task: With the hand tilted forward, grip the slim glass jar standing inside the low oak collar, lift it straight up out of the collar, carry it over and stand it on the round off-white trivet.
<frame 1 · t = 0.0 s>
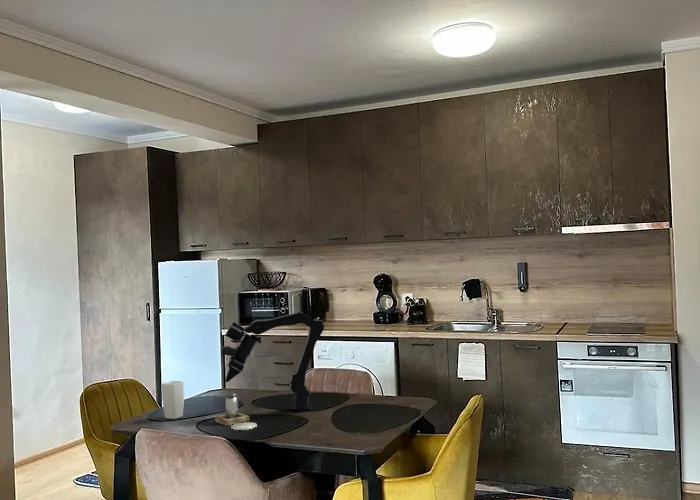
hand: (226, 379, 271), 15 cm above the table, tool tilted 35°, fingers open, 9 cm apart
trivet: (244, 427, 250), on the table
cup: (173, 418, 270), on the table
glass jar: (231, 407, 260), in the oak collar
oak collar: (232, 421, 260), on the table
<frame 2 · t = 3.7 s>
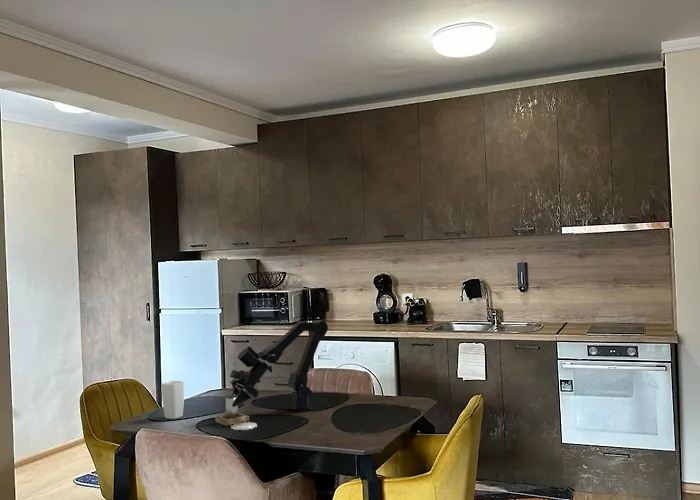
hand: (230, 405, 260), 7 cm above the table, tool tilted 45°, fingers closed on glass jar, 5 cm apart
glass jar: (231, 407, 260), in the oak collar, touching gripper
everything else where it was.
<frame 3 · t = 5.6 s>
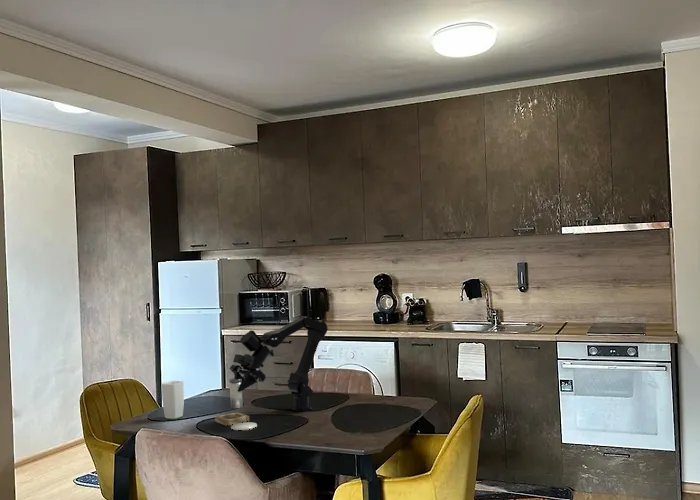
hand: (235, 390, 254), 14 cm above the table, tool tilted 45°, fingers closed on glass jar, 5 cm apart
glass jar: (236, 393, 254), point 12 cm above the table, touching gripper
everything else where it was.
when the fingers open (8 cm above the table, at t = 7.6 s): glass jar stays where it is, resting on trivet.
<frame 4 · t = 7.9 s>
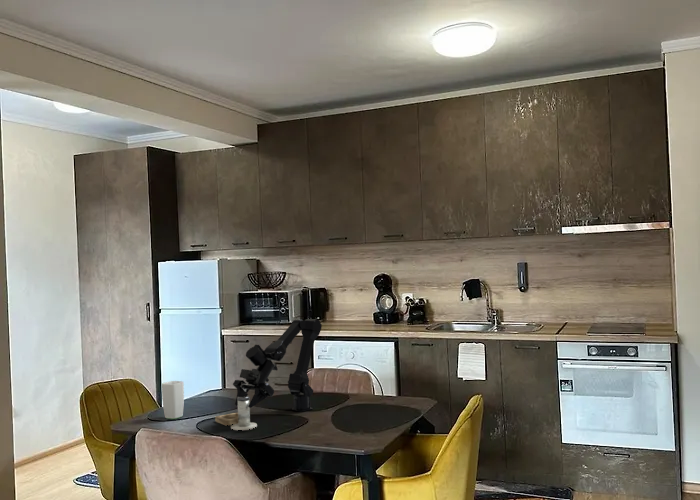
hand: (242, 406, 250), 8 cm above the table, tool tilted 45°, fingers open, 7 cm apart
glass jar: (243, 411, 250), on the trivet, point 6 cm above the table
everything else where it was.
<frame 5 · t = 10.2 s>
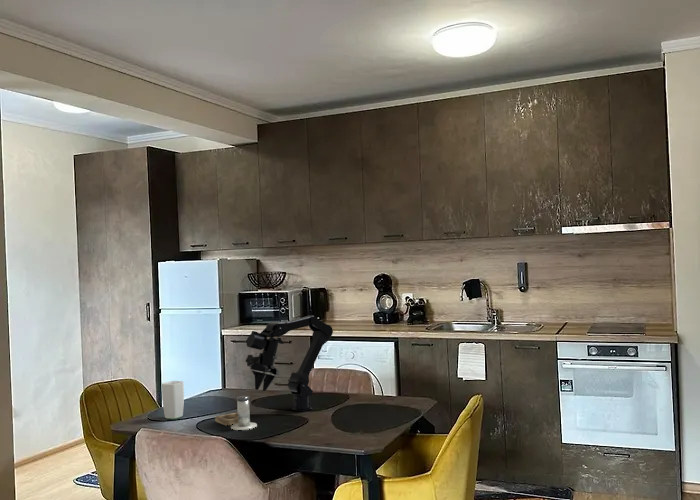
hand: (260, 390, 263), 11 cm above the table, tool tilted 20°, fingers open, 9 cm apart
nothing on the table moved.
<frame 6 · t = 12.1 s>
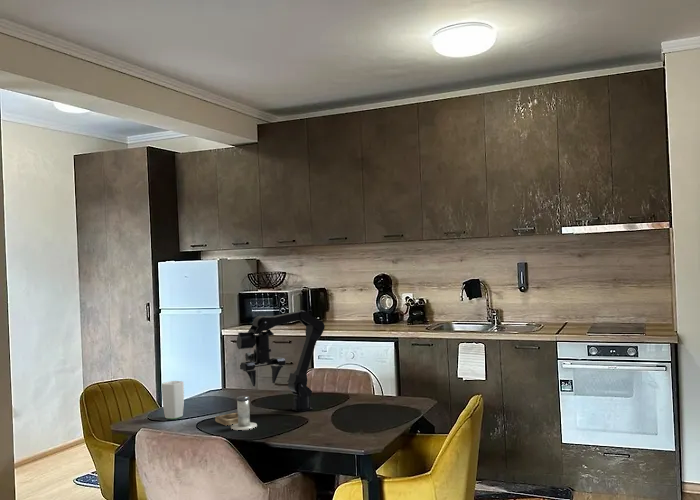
hand: (263, 384, 267), 13 cm above the table, tool pointing down, fingers open, 9 cm apart
nothing on the table moved.
at the end: glass jar inside the target area on the trivet (0.1 cm from its centre), point 6.1 cm above the trivet's base; glass jar tilted 0°; glass jar touching trivet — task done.
